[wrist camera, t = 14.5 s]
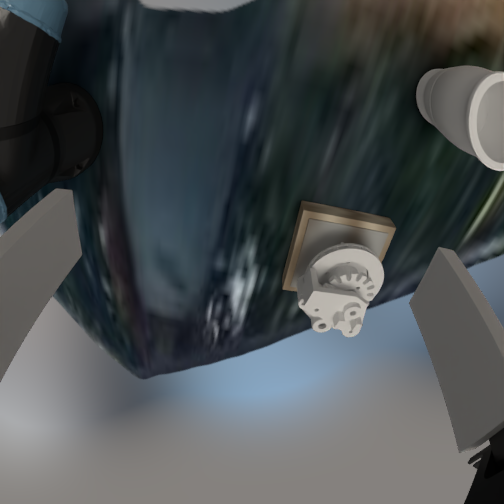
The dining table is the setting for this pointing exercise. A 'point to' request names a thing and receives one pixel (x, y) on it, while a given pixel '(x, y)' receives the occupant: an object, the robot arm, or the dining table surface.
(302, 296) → the mechanical part
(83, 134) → the robot arm
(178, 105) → the dining table surface
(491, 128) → the jar
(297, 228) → the stand
